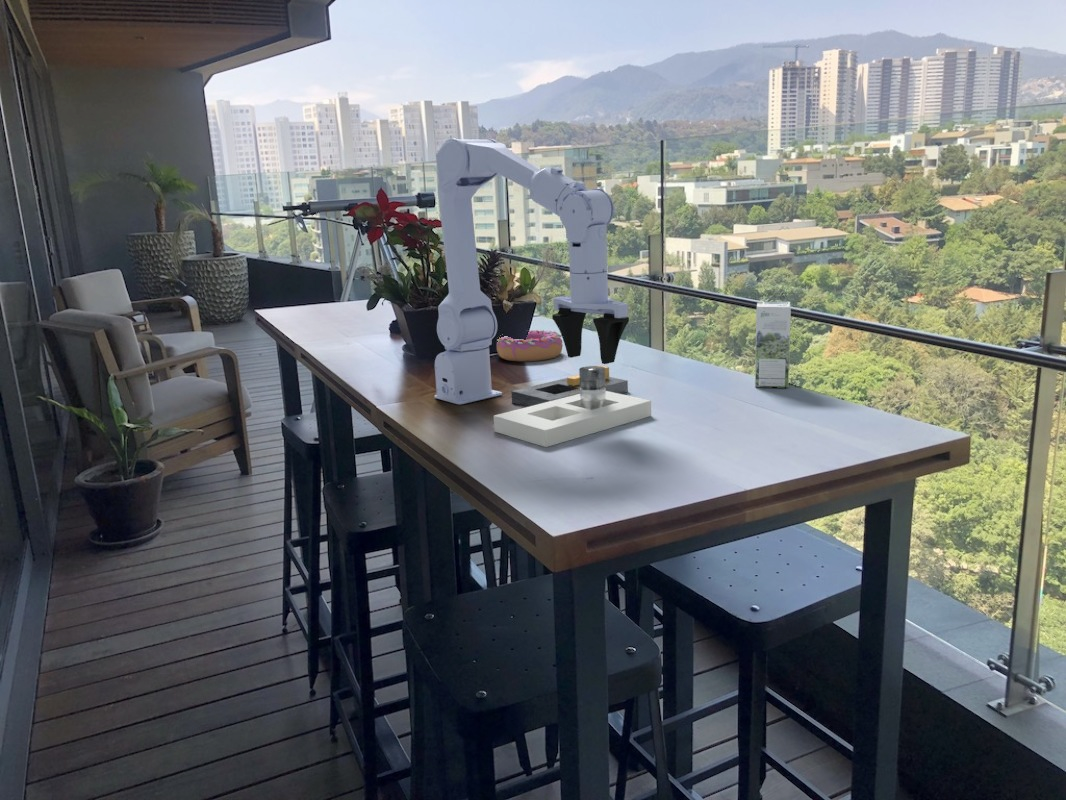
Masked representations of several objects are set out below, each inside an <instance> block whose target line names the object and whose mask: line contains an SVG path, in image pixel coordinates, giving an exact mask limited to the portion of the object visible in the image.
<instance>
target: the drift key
mask: <svg viewBox="0 0 1066 800" xmlns="http://www.w3.org/2000/svg"><path fill="white" fill-rule="evenodd" d="M595 366H601V367H604V368H605V379H608V378H609V377H610V367H609V366H604V365H599V364H596V365H595ZM566 378H567V384H568V385H573V386H576V385H580V375H579V374H576V375H572V376H569V377H566Z"/></svg>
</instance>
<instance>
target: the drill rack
mask: <svg viewBox="0 0 1066 800" xmlns="http://www.w3.org/2000/svg"><path fill="white" fill-rule="evenodd" d="M649 417H652V400H649V399H645V398H640V397H636V396H632V395H628V394H627V395H626V394H624V393H621V394H618V393H614V392H609V391H606V406H604V407H601V408H597V409H594V410H590V409H586V408H582V407H581V406H580V394H577V395H573V396H569V397H565V398H561V399H557V400H553V401H549V402H545V403H541V404H537V405H533V406H530V407H528V406H525V407H523V408H518V409H514V410H510V411H506V412H503V413H498V414H495V415H493V428H494V430H493V431H494V432H495V433H499V434H501V435H505V436H508V437H512V438H515V439H517V440H521V441H524V442H528V443H531V444H533V445H537V446H541V447H544V448H547V447H550V446H555V445H557V444H561V443H565V442H568V441H571V440H576V439H578V438H582V437H584V436H585V437H586V436H588V435H592V434H594V433H599V432H601V431H605V430H608V429H609V430H610V429H612V428H615V427H619V426H622V425H624V424H625V425H626V424H628V423H632V422H635V421H639V420H642V419H645V418H649Z"/></svg>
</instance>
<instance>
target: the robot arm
mask: <svg viewBox="0 0 1066 800" xmlns="http://www.w3.org/2000/svg"><path fill="white" fill-rule="evenodd" d="M435 158H436V159H435V160H436V161H435V162H436V170H437V177H438V185H437V195H438V203H439V204H438V205H439V211H440V220H441V221H440V222H441V233H442V240H443V248H444V259H445V268H446V276H447V287H448V294H447V295H446V296H445V297H444V298H443V300H442V301H441V302H440V304H439V305H438V306H437V307H438V308H437V310H438V311H437V312H438V319H437V323H436V333H437V336H438V340H439V341H440V343H441V345H443V346H444V349H445V351H443V352H440V353H438V354H437V355H436V357H435V360H434V374H435V376H434V377H435V378H434V379H435V388H436V389H435V390H436V394H435V395H434V399H438V400H442V401H445V402H448V403H452V404H455V405H464V404H468V403H472V402H477V401H481V400H486V399H490V398H495V397H498V396H502V395H503V392H502V391H499V390H494V389H492V388H493V387H492V376H491V375H492V374H491V373H492V372H491V358H490V357H491V356H490V346H491V345H492V344H493V343H492V342H493V341H492V340H493V339H494V338H495V337H496V334H497V332H498V321H497V317H496V315H495V312H494V310H493V306H492V305H493V304H492V299H491V298H490V297H489V296H487V294H485V293H484V292H483V291H482V290H481V284H480V283H481V282H480V275H479V264H478V252H477V245H476V243H477V242H476V236H475V223H474V214H473V213H474V212H473V204H472V198H473V197H474V195H475V194H476V193H477V191H478V190H479V189H480V188H482V187H483V186H484V185H486V184H488V183H489V182H490V181H493V179H494V178H495V177H497V176H498V175H499V176H501V177H504V178H505V179H507V180H510V181H512V182H513V183H515V184H517V185H520V186H521V187H523V188H525V189H527V190H528V191H529V195H530V196H529V197H530V199H531V200H532V201H533V202H534V203H536V204H537V205H539V206H540V207H543V208H544V209H546V210H548V211H549V212H551V213H553V214H554V215H556V216H557V217H558V218H559V219H560V222H561V223H562V226H563V227H564V229H565V237H566V239H567V242H568V255H569V256H568V259H569V261H568V262H569V286H570V287H569V290H570V293H569V295H570V296H557V297H553V310H554V311H557V313H553V314H552V317H551V318H552V320H553V322H554V323H555V325H556V326H557V328H558V330H559V332H560V335H561V339H562V342H563V343H564V347H565V350H566V353H567V356H568V358H571V359H572V358H577V357H580V356H581V353H582V337H583V327H584V321H585V318H586V315H587V314H593V315H599V316H600V317H597V318H596V317H595V318H592V319H593V320H592V321H593V322H592V323H594V327H595V329H596V333H597V338H598V341H599V353H600V355H599V356H600V361H601V364H604V365H608V364H611V363H612V364H613V363H615V360H616V356H617V351H618V348H619V347H618V346H619V343H620V340H621V338H622V335H623V333H624V331H625V329H626V327H627V325H628V324H629V321H630V317H629V304H628V303H625V302H621V301H617V300H612V297H609V288H608V287H609V286H608V284H609V283H608V279H609V277H608V239H607V238H608V237H607V234H608V232H607V231H608V230H607V226H608V225H609V224H610V223H611V221H612V220H613V218H614V217H613V216H614V214H615V205H614V202H613V199H612V197H611V196H610V195H609V194H608V193H607V192H606V191H605V190H604V189H602V188H592V189H588V188H587V187H586V183H585V182H583V181H582V180H574V179H573V178H570V177H568V176H567V175H565V174H563V173H564V169H563V168H560V167H559V166H552V167H550V166H549V167H544V168H542V169H540V168H538V167H536V166H534V165H533V164H532V163H530V162H528V161H527V160H525V159H524V158H523V157H521V156H520V155H518V154H516V153H515V152H514V151H512V150H510V149H508V148H507V145H506V144H505V143H503V142H498V141H497V140H496V139H493V138H485V139H458V138H449V139H447V140H446V141H444V142H443V144H442V146H440V148H439V150H438V151H437V153H436V154H435ZM601 316H602V317H601Z"/></svg>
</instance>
